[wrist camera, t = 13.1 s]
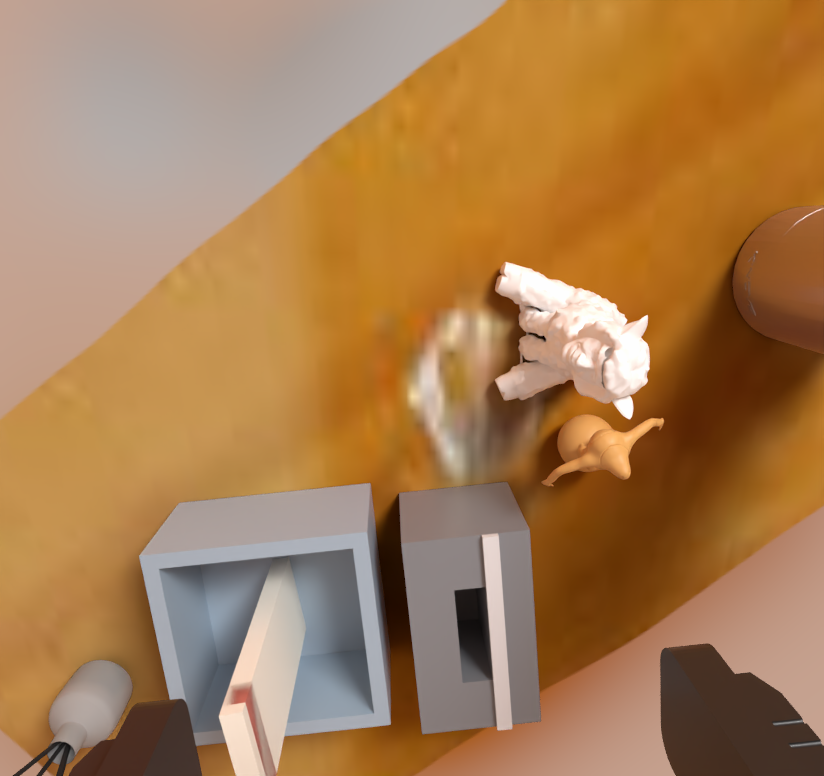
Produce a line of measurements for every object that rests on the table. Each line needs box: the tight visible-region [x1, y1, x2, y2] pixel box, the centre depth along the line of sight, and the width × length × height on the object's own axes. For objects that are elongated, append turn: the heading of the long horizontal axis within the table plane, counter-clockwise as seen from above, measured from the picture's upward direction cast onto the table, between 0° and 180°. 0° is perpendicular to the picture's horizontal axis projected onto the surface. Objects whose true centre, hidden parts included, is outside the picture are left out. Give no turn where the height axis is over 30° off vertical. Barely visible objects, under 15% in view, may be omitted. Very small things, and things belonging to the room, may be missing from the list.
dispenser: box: [399, 482, 541, 734], centre depth 46 cm, size 14×8×8 cm, turn 6°
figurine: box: [541, 415, 664, 487], centre depth 42 cm, size 8×6×12 cm
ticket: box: [219, 557, 306, 776], centre depth 42 cm, size 6×1×16 cm, turn 10°
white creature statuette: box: [495, 262, 650, 419], centre depth 41 cm, size 10×9×12 cm
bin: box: [139, 483, 391, 746], centre depth 46 cm, size 14×14×8 cm
